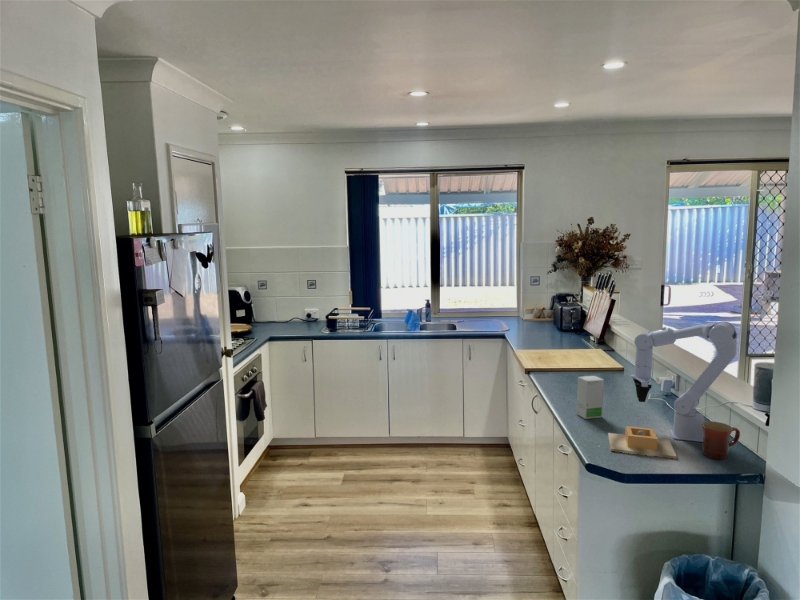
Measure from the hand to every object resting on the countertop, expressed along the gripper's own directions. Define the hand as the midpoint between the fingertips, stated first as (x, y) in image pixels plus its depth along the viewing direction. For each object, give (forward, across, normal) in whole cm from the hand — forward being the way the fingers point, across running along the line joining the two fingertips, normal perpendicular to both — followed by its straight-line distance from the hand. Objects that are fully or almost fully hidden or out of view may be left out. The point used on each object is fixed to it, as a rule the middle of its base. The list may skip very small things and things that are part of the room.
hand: (640, 399), depth 198 cm
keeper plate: (+10, +20, -2) cm, 23 cm away
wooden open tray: (+9, +20, -2) cm, 22 cm away
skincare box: (+11, -6, -18) cm, 22 cm away
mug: (+10, +20, +22) cm, 32 cm away
